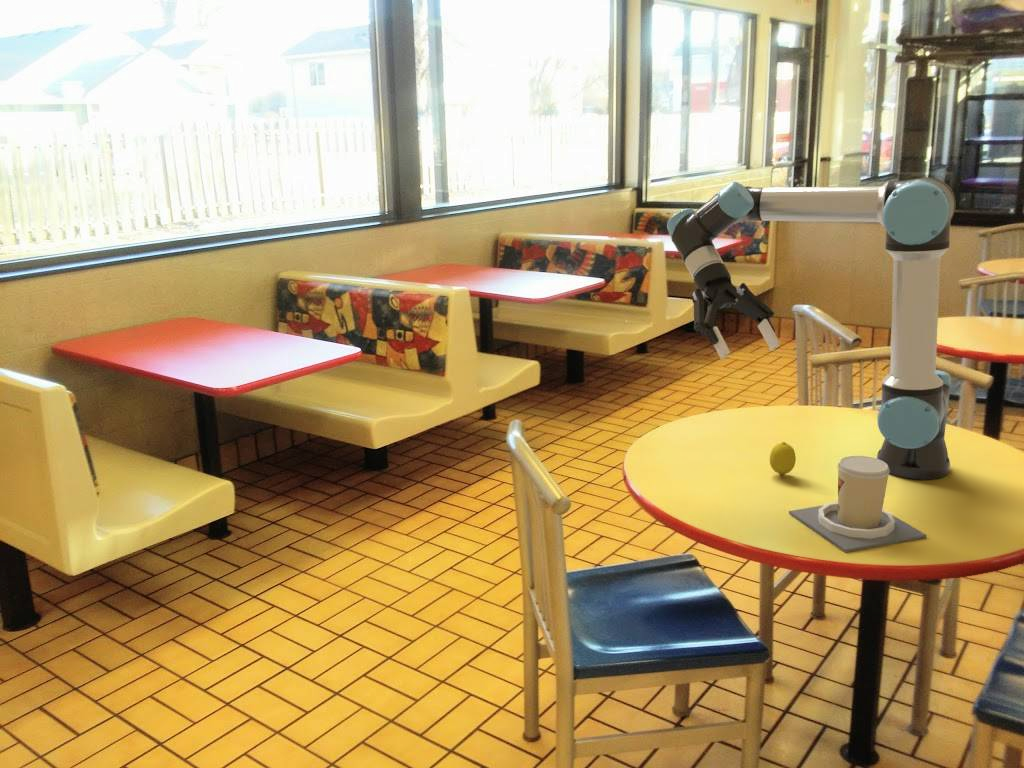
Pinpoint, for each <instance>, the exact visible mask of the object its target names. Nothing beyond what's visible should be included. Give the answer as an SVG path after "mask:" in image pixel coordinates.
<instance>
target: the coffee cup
mask: <svg viewBox="0 0 1024 768" xmlns="http://www.w3.org/2000/svg"><path fill="white" fill-rule="evenodd" d="M837 469H838V470H837V478H838V479H837V502H838V520H839V521H840V522H841V523H842V524H844V525H846V526H849V527H852V528H857V529H872V528H875V527H877V526H878V525H879V523H880V519H881V514H882V509H884V508H883V507H884V500H885V498H886V497H885V496H886V492H887V491H886V490H887V484H888V479H889V474H890V473H889V472H890V470H889V468H888V465H887V464H886V463H885V462H884V461H882V460H879V459H877V457H872V456H865V455H850V456H844V457H842V458H841V459H840V460H839V462H838V464H837Z"/></svg>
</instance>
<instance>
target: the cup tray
mask: <svg viewBox="0 0 1024 768" xmlns="http://www.w3.org/2000/svg"><path fill="white" fill-rule="evenodd" d="M788 514H789V515H790V516H791V517H793V518H794V519H795V520H797V521H799V522H800V523H802V524H803V525H805V526H806V527H807V528H809V530H812V531H813V532H815V533H816V534H817V535H819V536H820V537H821V538H822V539H823V538H824V539H825V540H826V541H828V542H829V544H832V545H833V546H835V547H836V548H838V549H839V550H840V551H841V552H843V553H849V552H854V551H861V550H867V549H872V548H877V547H878V548H879V547H882V546H889V545H893V544H900V543H904V542H911V541H916V540H921V539H926V538H927V534H926V533H924V532H923V531H921V530H919V529H917V528H915V527H914V526H912V525H910V524H909V523H907V522H905V521H903V520H902V519H900V518H898V517H897V516H895V515H894V514H892V513H891V512H889V511H887V510H886V509H884V508H882V514H881V519H880V523H879V525H878V526H877V527H875V528H872V529H857V528H852V527H849V526H846V525H844V524H842V523H841V522H840V521H839V520H838V501H833V502H827V503H825V504H823V505H818V506H817V505H816V506H811V507H804V508H800V509H793V510H788Z"/></svg>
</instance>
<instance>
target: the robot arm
mask: <svg viewBox="0 0 1024 768" xmlns="http://www.w3.org/2000/svg"><path fill="white" fill-rule="evenodd" d="M955 211H956V197H955V194H954V192H953V190H952V188H951V187H950V186H949V185H948V184H947V183H946V182H944V181H942V180H940V179H938V178H935V177H927V176H925V177H924V176H923V177H920V178H913V179H907V180H894V181H893V180H889V181H886V182H885V183H883V185H879V186H877V185H876V186H871V185H870V186H866V185H865V186H789V187H788V186H786V187H785V186H784V187H783V186H781V187H780V186H778V187H775V186H774V187H770V186H769V187H768V186H767V187H753V186H744V185H743V184H742V183H740V182H738V181H732V182H729V183H728V184H727V185H725V186H724V187H722V188H720V189H719V191H718V192H717V193H716V194H715V195H713V196H712V197H711V198H710V199H709V200H708V201H706V202H705V203H704V204H703V205H702V206H701V207H699V208H698V209H697V210H695V209H693V208H684V209H681V210H680V211H678V212H675V213H674V214H673V215H671V216H670V218H669V220H667V222H666V223H667V224H666V228H667V232H668V234H669V237H670V239H671V242H672V244H673V245H674V246H675V248H676V250H677V252H678V253H679V256H680V257H681V259H682V260H683V263H684V265H685V267H686V269H687V270H688V273H689V274H690V277H691V278H692V279H693V283H694V284H695V287H696V289H695V290H694V291H693V293H692V294H691V296H690V297H691V301H692V303H693V330H694V332H696V333H699V332H700V334H701V336H706V337H707V339H708V342H709V343H710V344H711V346H714V349H715V350H716V352H717V355H718V356H719V358H720V360H724V359H725V358H727V356H729V354H730V353H731V350H730V348H729V347H728V344H727V342H726V340H725V339H724V337H723V335H722V334H721V331H720V329H719V328H718V326H714V323H715V319H716V315H717V311H718V310H721V309H723V308H727V309H728V308H729V309H730V308H731V309H733V310H737V311H739V312H741V314H743V315H745V316H747V317H748V318H750V319H752V321H755V322H756V323H758V325H757V328H758V330H759V331H760V334H761V335H762V338H763V339H764V341H765V342H766V344H767V346H768V348H769V350H770V351H771V352H772V351H774V350H775V351H776V348H778V346H780V345H781V341H780V340H779V338H778V336H777V334H776V333H775V332H776V329H775V328H774V327H773V324H772V323H771V321H770V319H771V318H773V316H774V315H775V311H773V310H772V309H771V308H770V307H769V306H767V304H765V303H764V302H763V301H762V300H761V299H760V298H759V297H758V296H757V295H755V294H754V293H753V292H752V291H751V290H750V289H749V288H748V285H747V284H746V283H745V282H741V284H740V285H738V286H735V285H734V284H733V283H732V276H731V274H730V272H729V270H728V268H727V267H726V265H725V264H724V261H723V259H722V258H721V255H720V253H719V252H718V250H717V249H716V246H715V245H714V243H713V241H714V240H715V239H717V238H718V237H719V236H720V235H721V234H723V233H725V231H727V230H728V229H729V228H730V227H732V226H733V225H735V224H739V223H741V222H762V221H764V222H772V221H773V222H828V223H829V222H833V223H834V222H835V223H837V222H838V223H840V222H841V223H879V224H880V225H881V226H882V227H884V229H885V252H886V253H887V254H888V255H890V257H892V260H893V262H892V263H893V264H892V268H893V269H892V293H891V294H892V295H891V296H892V297H891V299H892V302H891V328H890V329H891V331H890V365H889V367H890V368H889V370H890V371H889V373H888V374H887V375H885V377H883V378H882V379H881V405H880V406H881V407H880V409H878V413H877V418H876V419H877V427H878V430H879V432H880V433H881V436H883V438H884V439H883V443H882V445H881V447H880V449H879V450H878V452H877V455H876V459H879V460H882V461H884V462H885V463H886V464H887V465H888V468H889V470H890V472H889V474H890V475H893V476H896V477H900V478H904V479H905V478H906V479H913V480H937V479H941V478H944V477H946V476H947V475H949V473H950V466H951V461H950V458H949V454H948V447H947V445H946V440H945V434H946V428H947V427H946V426H947V417H948V410H949V408H948V407H949V399H950V392H951V388H952V382H951V381H952V376H951V374H949V373H948V372H946V371H944V370H940V369H936V368H937V348H938V347H937V346H938V322H939V321H938V320H939V319H938V318H939V300H940V299H939V298H940V297H939V295H940V277H941V276H940V274H941V258H942V256H943V255H944V254H945V253H946V252H948V250H949V249H950V239H951V220H952V218H953V217H954V213H955ZM736 300H737V301H736ZM705 301H706V302H708V305H707V308H706V310H707V312H706V315H705Z"/></svg>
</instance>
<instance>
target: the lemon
mask: <svg viewBox="0 0 1024 768" xmlns="http://www.w3.org/2000/svg"><path fill="white" fill-rule="evenodd" d="M796 459H797V457H796V451H795V450H794V448H793V446H792V445H790V444H789V443H787V442H786V441H782V442H780V443H777V444H775V445H774V446H773V447H772V449H771V451H770V455H769V464H770V466H771V469H772V470H773V471H774V472H775V473H777V474H778V475H780V477H781V476H782V477H783V476H784V475H785V474H788V473H790V472H791V471H793V469H794V467H795V465H796Z"/></svg>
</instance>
